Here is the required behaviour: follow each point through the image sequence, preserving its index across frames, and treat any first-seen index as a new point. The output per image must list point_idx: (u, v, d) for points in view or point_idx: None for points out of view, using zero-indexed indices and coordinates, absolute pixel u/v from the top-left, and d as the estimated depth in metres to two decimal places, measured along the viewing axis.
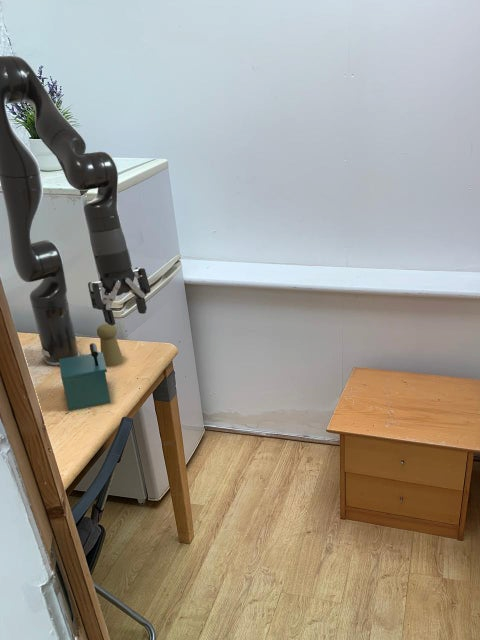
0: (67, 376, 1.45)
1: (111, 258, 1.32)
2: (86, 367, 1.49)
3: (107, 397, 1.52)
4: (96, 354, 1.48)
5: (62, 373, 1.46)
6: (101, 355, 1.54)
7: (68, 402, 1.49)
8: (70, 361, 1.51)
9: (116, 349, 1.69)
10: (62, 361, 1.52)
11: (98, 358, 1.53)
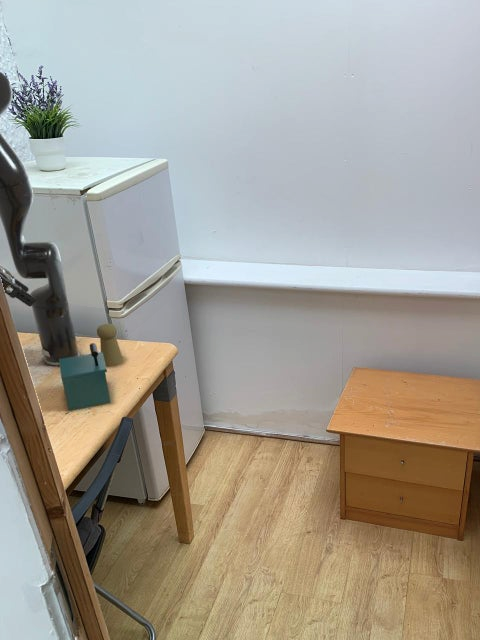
0: (67, 376, 1.45)
1: None
2: (86, 367, 1.49)
3: (107, 397, 1.52)
4: (96, 354, 1.48)
5: (62, 373, 1.46)
6: (101, 355, 1.54)
7: (68, 402, 1.49)
8: (70, 361, 1.51)
9: (116, 349, 1.69)
10: (62, 361, 1.52)
11: (98, 358, 1.53)
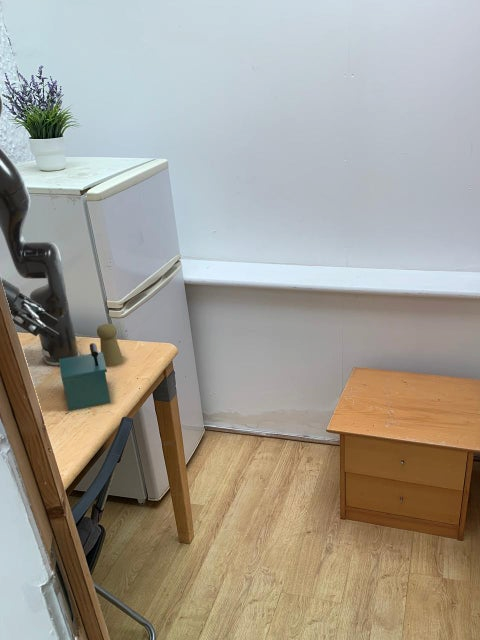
0: (67, 376, 1.45)
1: None
2: (86, 367, 1.49)
3: (107, 397, 1.52)
4: (96, 354, 1.48)
5: (62, 373, 1.46)
6: (101, 355, 1.54)
7: (68, 402, 1.49)
8: (70, 361, 1.51)
9: (116, 349, 1.69)
10: (62, 361, 1.52)
11: (98, 358, 1.53)
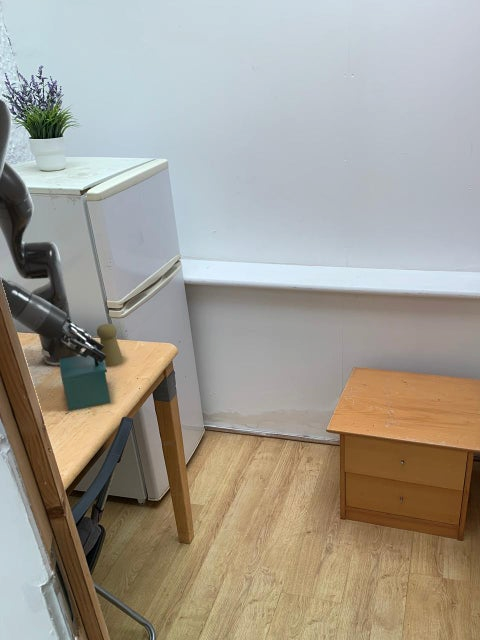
0: (67, 376, 1.45)
1: None
2: (86, 367, 1.49)
3: (107, 397, 1.52)
4: None
5: (62, 373, 1.46)
6: None
7: (68, 402, 1.49)
8: (70, 361, 1.51)
9: (116, 349, 1.69)
10: (62, 361, 1.52)
11: None
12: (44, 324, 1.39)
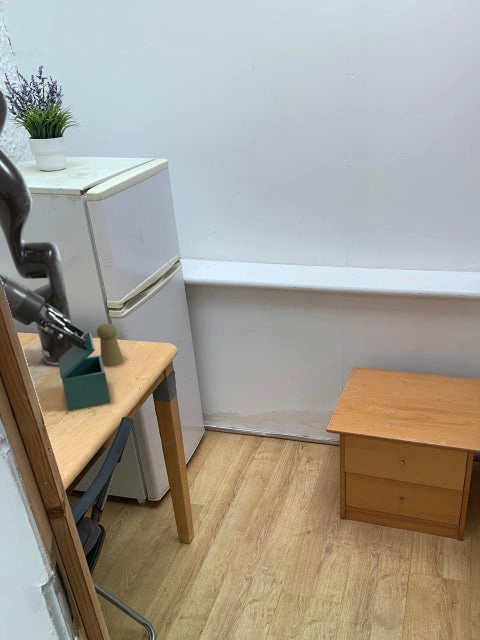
0: (65, 373, 1.45)
1: None
2: (78, 355, 1.47)
3: (107, 397, 1.52)
4: None
5: (61, 373, 1.46)
6: (88, 335, 1.50)
7: (68, 402, 1.49)
8: (66, 356, 1.50)
9: (116, 349, 1.69)
10: (60, 360, 1.51)
11: (86, 340, 1.49)
12: (20, 309, 1.35)
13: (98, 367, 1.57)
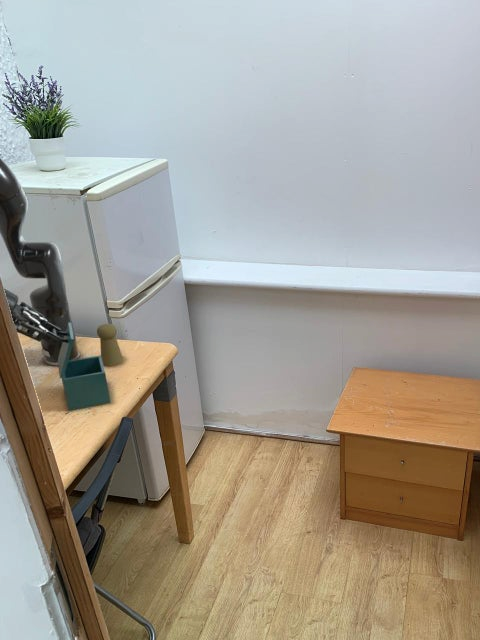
0: (61, 372, 1.44)
1: None
2: (65, 350, 1.45)
3: (107, 397, 1.52)
4: None
5: (59, 373, 1.46)
6: (68, 326, 1.48)
7: (68, 402, 1.49)
8: (60, 355, 1.50)
9: (116, 349, 1.69)
10: (58, 360, 1.51)
11: (67, 332, 1.47)
12: None
13: (98, 367, 1.57)
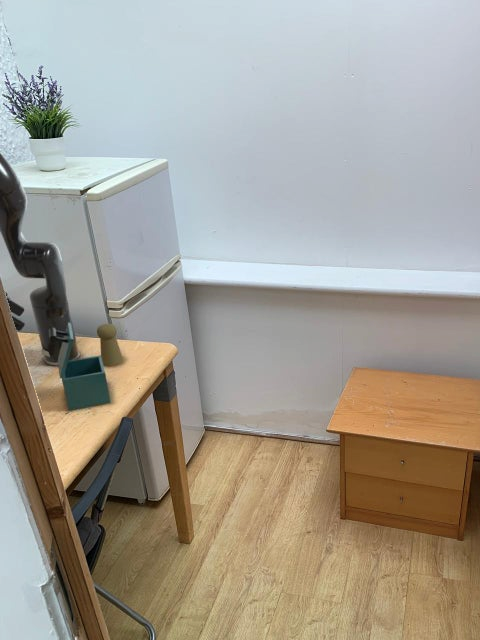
0: (61, 372, 1.44)
1: None
2: (64, 350, 1.45)
3: (107, 397, 1.52)
4: (54, 337, 1.42)
5: (59, 373, 1.46)
6: (67, 326, 1.47)
7: (68, 402, 1.49)
8: (60, 355, 1.50)
9: (116, 349, 1.69)
10: (58, 360, 1.51)
11: (67, 332, 1.47)
12: None
13: (98, 367, 1.57)
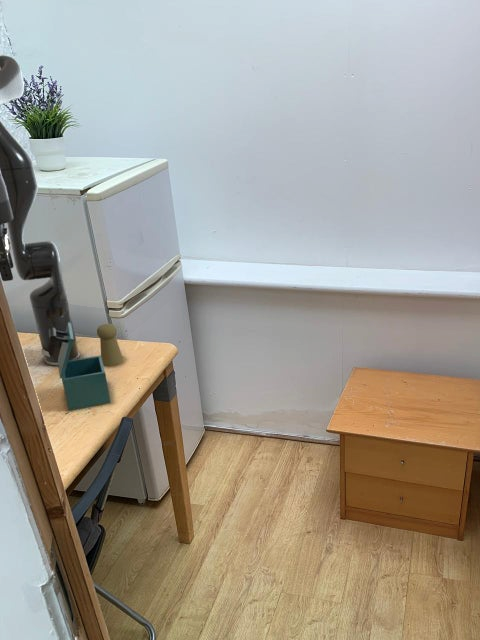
0: (61, 372, 1.44)
1: None
2: (64, 350, 1.45)
3: (107, 397, 1.52)
4: (54, 337, 1.42)
5: (59, 373, 1.46)
6: (67, 326, 1.47)
7: (68, 402, 1.49)
8: (60, 355, 1.50)
9: (116, 349, 1.69)
10: (58, 360, 1.51)
11: (67, 332, 1.47)
12: None
13: (98, 367, 1.57)
